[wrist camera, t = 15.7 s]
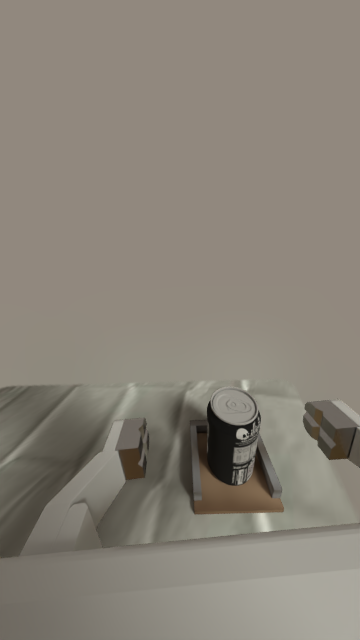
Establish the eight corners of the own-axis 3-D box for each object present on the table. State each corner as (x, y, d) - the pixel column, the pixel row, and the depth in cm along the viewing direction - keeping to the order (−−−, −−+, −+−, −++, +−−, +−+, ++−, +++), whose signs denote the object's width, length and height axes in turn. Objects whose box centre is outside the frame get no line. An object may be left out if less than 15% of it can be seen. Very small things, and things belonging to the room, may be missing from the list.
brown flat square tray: (283, 512, 23) (286, 499, 22) (194, 514, 23) (194, 502, 22) (251, 429, 33) (253, 418, 32) (190, 431, 33) (189, 420, 32)
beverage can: (210, 436, 31) (210, 380, 27) (251, 446, 29) (259, 388, 25) (203, 480, 26) (202, 419, 21) (254, 496, 24) (265, 433, 19)
